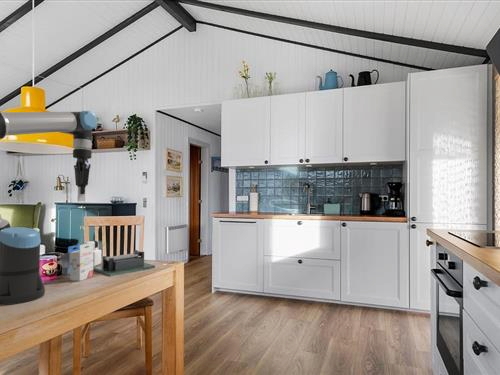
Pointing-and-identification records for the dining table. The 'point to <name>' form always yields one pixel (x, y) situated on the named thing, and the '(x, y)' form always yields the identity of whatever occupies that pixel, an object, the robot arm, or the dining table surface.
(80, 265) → the ink cartridge box
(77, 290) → the dining table surface
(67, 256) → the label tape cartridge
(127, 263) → the green fixture base plate
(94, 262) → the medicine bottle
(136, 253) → the steel strap
